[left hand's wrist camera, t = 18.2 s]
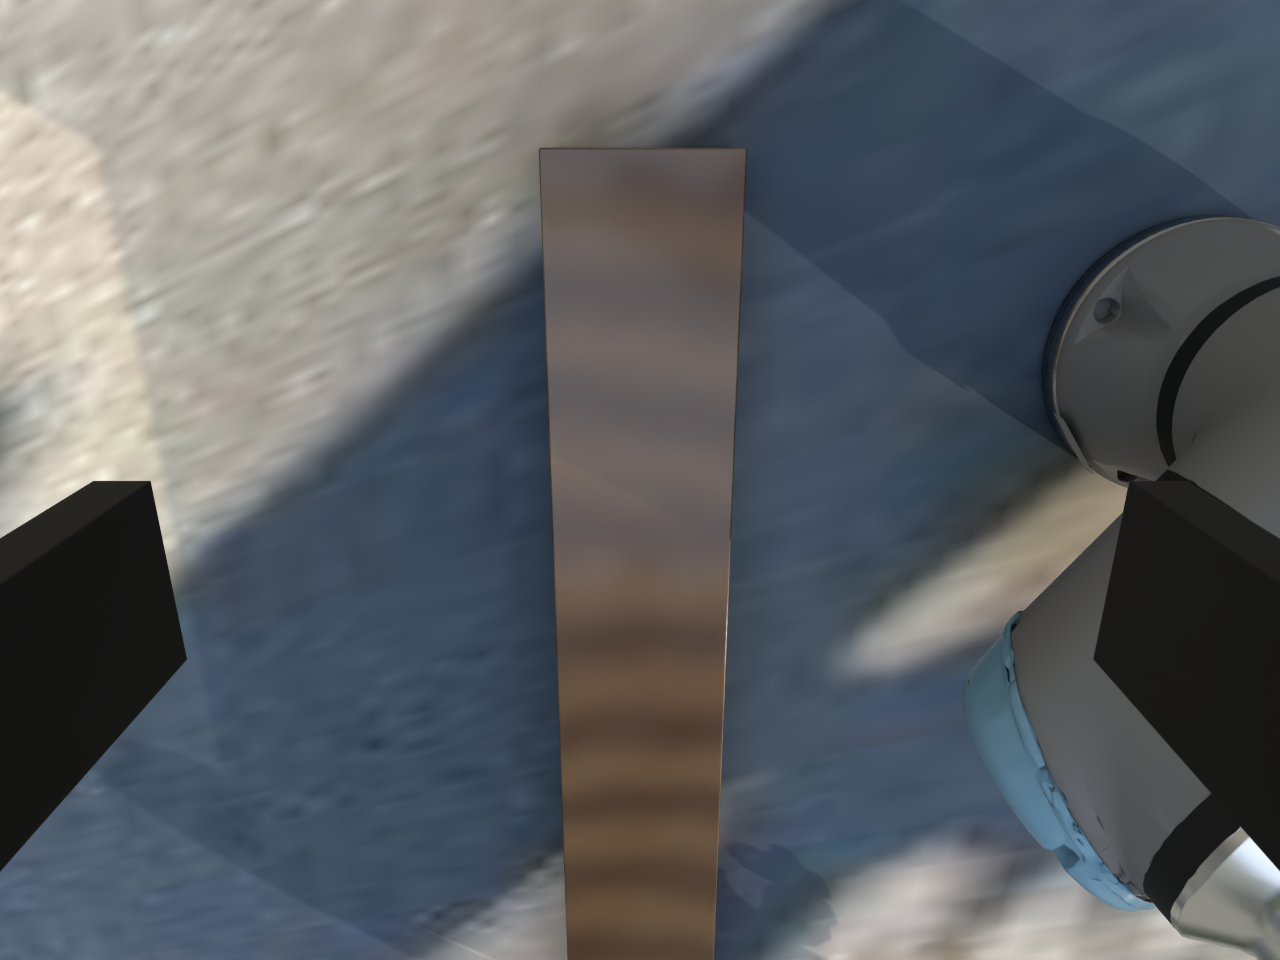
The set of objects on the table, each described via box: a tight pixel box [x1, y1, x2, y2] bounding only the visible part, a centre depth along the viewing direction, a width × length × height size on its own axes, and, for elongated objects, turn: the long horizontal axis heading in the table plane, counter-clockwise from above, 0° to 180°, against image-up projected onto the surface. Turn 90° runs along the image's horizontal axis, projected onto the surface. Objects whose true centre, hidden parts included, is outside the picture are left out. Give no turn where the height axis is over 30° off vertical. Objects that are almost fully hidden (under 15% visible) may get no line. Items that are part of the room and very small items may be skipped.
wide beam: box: [539, 147, 747, 960], centre depth 54 cm, size 60×9×8 cm, turn 0°
